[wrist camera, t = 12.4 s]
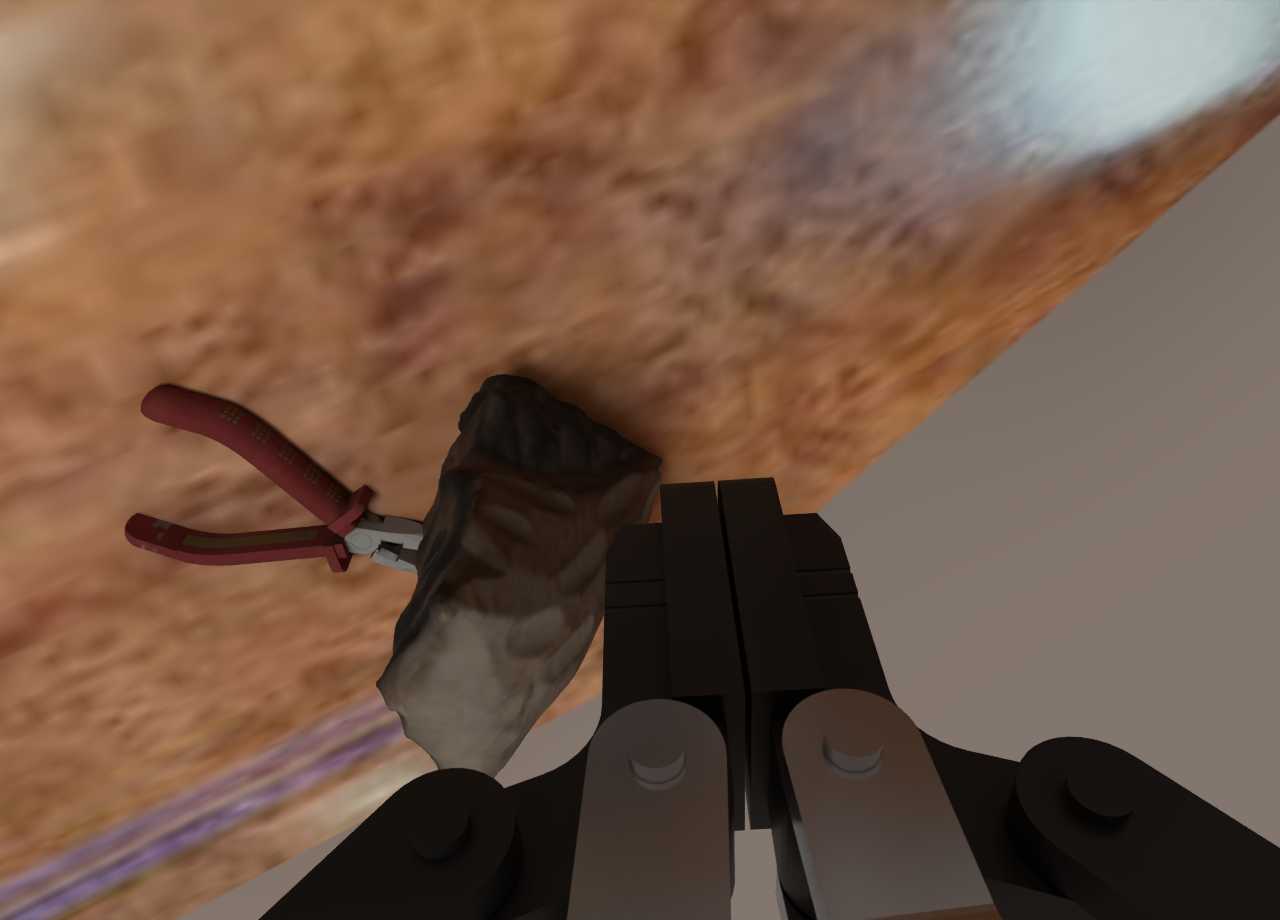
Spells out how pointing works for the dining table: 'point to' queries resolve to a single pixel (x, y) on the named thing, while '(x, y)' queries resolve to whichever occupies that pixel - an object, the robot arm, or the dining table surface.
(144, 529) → the pliers
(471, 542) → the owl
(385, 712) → the dining table surface
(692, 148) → the dining table surface
